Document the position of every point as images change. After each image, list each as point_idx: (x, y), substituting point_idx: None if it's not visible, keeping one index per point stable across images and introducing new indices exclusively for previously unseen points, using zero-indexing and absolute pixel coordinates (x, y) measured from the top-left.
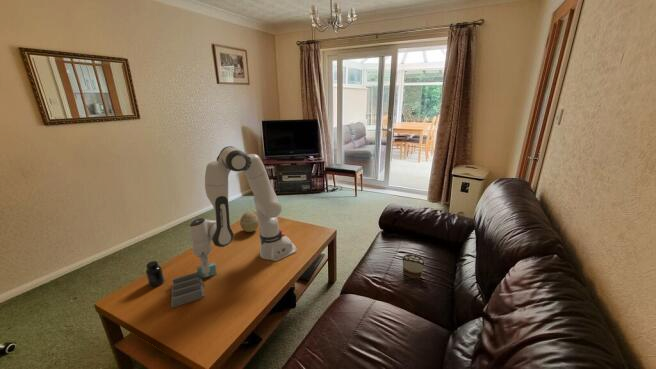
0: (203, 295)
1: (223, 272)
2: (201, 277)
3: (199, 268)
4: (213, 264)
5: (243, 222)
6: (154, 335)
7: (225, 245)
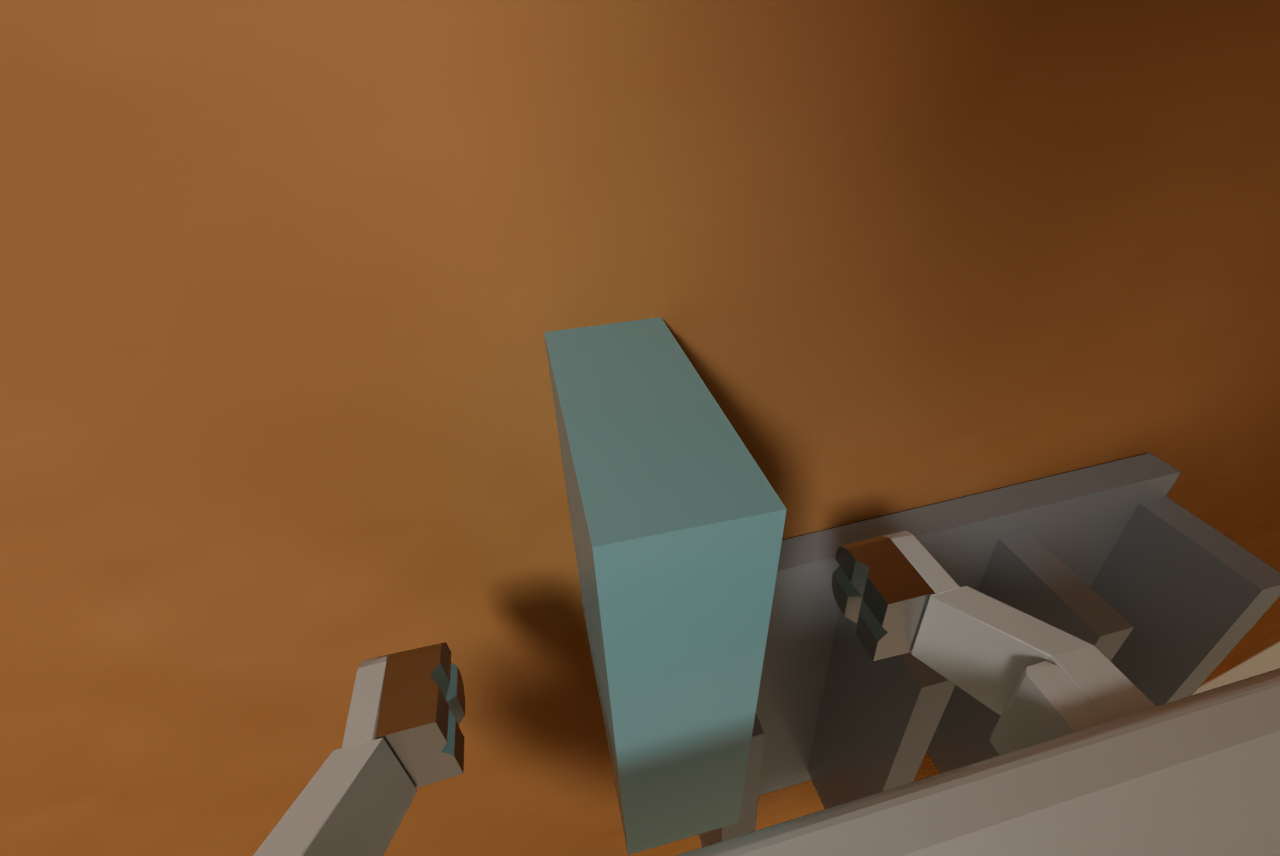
0: (1168, 479)
1: (664, 123)
2: None
3: (720, 803)
4: (704, 566)
5: None
6: None
7: None
